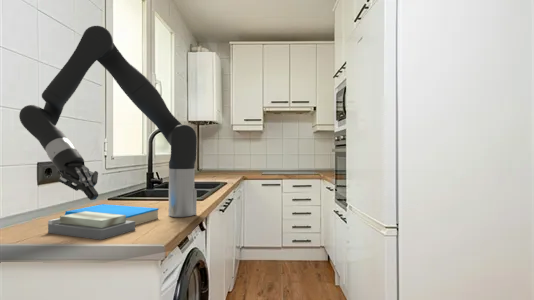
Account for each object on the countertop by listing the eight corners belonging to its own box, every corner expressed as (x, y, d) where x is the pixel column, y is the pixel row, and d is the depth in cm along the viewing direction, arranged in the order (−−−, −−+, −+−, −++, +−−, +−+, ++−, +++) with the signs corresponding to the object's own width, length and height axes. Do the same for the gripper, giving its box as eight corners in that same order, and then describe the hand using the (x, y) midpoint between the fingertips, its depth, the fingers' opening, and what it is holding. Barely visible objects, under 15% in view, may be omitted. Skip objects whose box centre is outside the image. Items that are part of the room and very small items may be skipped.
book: (102, 204, 134) (159, 207, 126) (102, 215, 134) (159, 219, 126) (63, 211, 118) (125, 215, 110) (63, 224, 118) (125, 229, 110)
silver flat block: (85, 217, 112) (85, 211, 112) (125, 221, 106) (125, 215, 106) (59, 223, 104) (59, 216, 104) (101, 227, 98) (101, 220, 98)
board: (85, 224, 115) (85, 212, 115) (135, 229, 108) (135, 217, 108) (48, 232, 103) (48, 220, 103) (100, 239, 96) (101, 226, 96)
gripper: (50, 147, 102) (82, 192, 98) (88, 147, 114) (118, 187, 110) (37, 165, 104) (68, 210, 100) (76, 163, 116) (105, 203, 112)
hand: (94, 198), depth 105 cm, fingers closed
